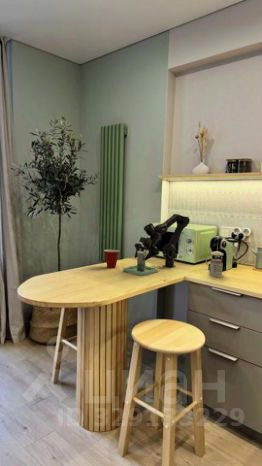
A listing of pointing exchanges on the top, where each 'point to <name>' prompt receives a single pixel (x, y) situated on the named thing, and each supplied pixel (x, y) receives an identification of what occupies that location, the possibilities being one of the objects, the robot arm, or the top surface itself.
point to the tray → (134, 271)
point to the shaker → (141, 260)
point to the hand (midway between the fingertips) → (139, 258)
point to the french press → (215, 262)
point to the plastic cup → (111, 258)
